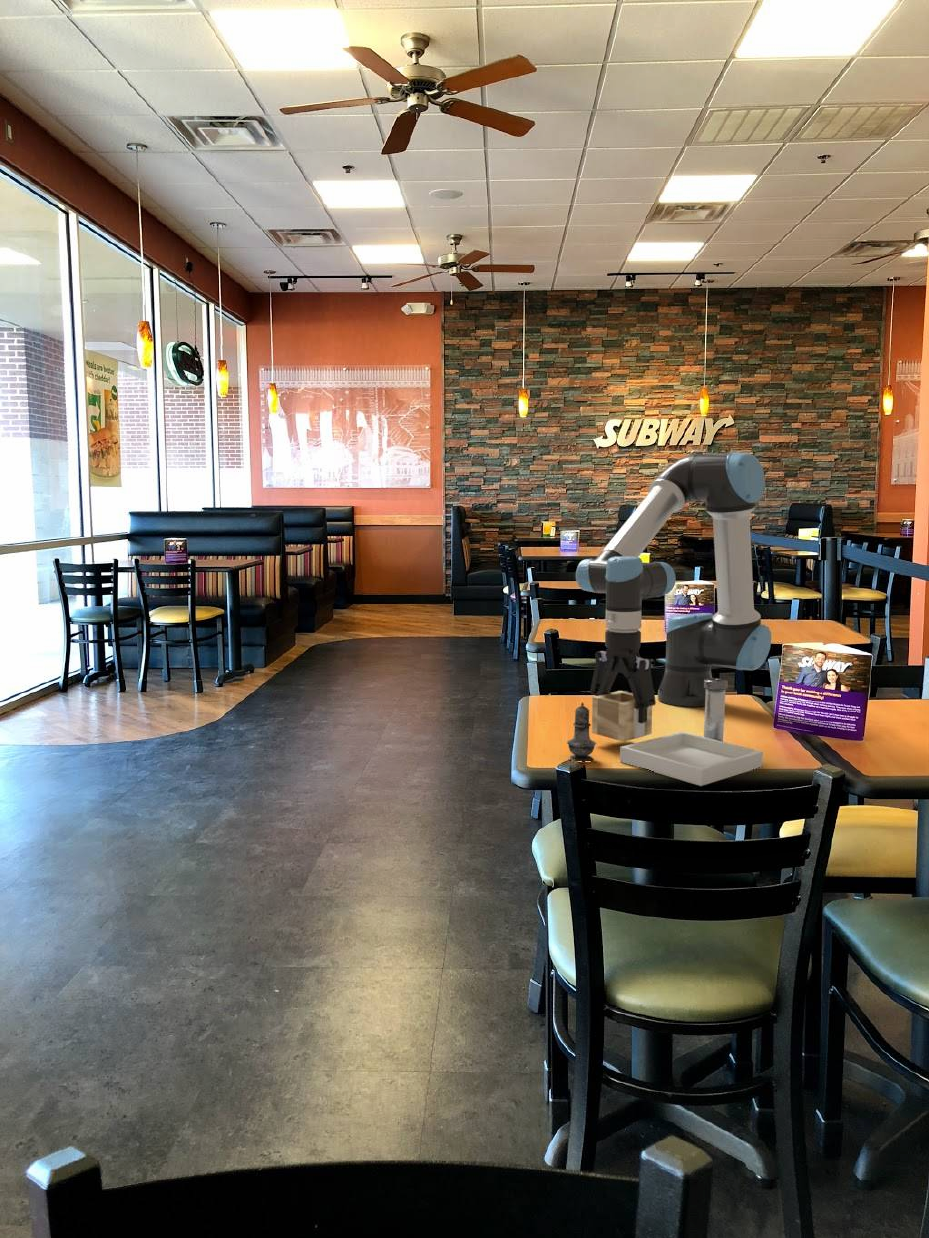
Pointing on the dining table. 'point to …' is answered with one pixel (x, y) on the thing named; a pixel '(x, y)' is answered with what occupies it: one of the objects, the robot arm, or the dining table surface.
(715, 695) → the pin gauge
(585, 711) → the salt shaker
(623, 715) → the wooden box
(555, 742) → the dining table surface
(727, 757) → the tray
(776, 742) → the dining table surface
